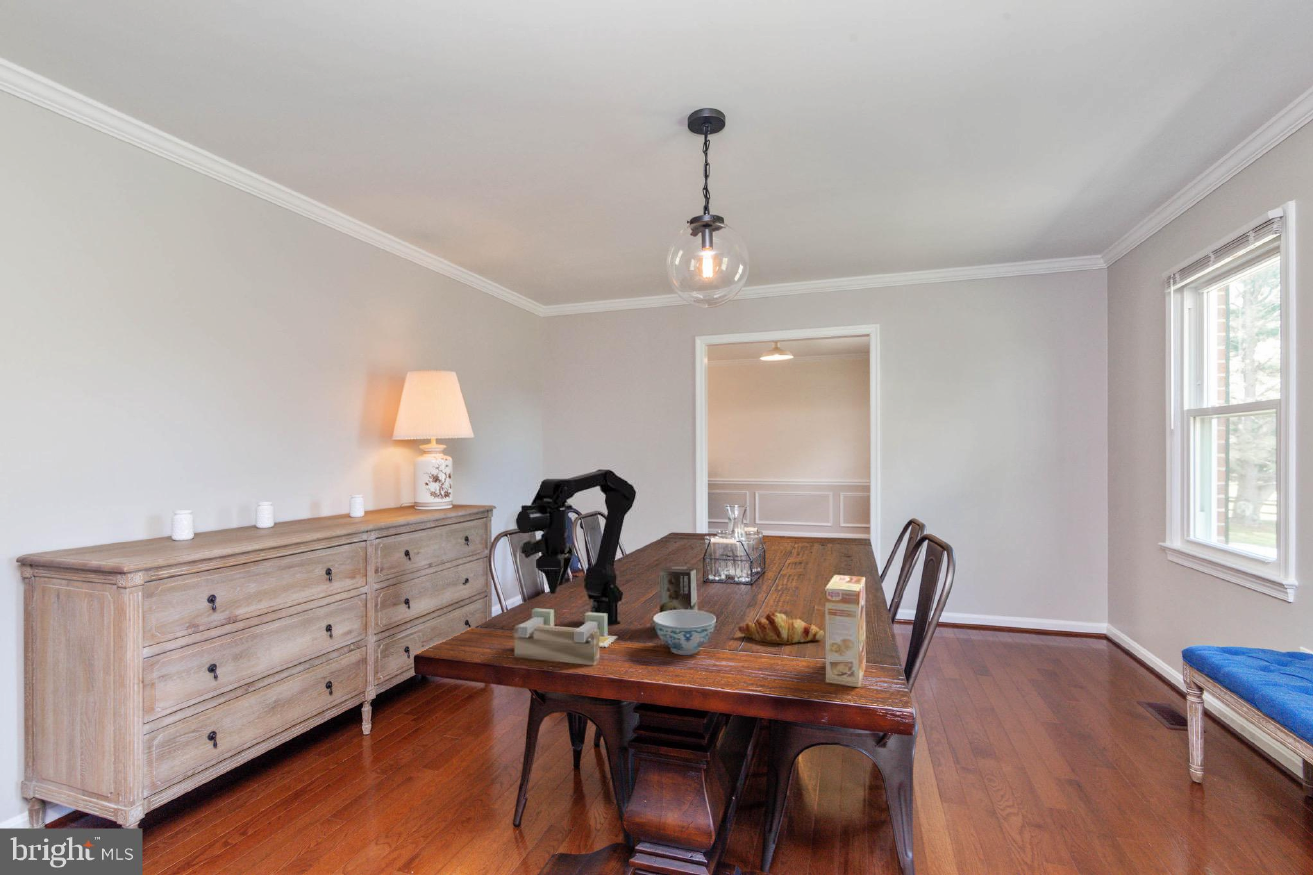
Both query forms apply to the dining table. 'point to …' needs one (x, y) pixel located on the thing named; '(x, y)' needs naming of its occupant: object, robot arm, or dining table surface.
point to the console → (557, 645)
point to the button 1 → (536, 621)
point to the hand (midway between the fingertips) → (556, 589)
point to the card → (606, 640)
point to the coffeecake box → (845, 630)
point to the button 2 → (591, 626)
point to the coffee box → (678, 588)
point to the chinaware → (684, 629)
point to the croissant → (780, 630)
